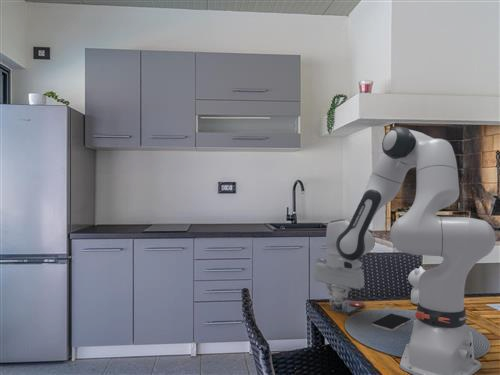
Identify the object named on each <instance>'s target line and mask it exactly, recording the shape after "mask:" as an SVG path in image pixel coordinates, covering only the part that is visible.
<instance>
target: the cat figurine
mask: <svg viewBox="0 0 500 375" xmlns="http://www.w3.org/2000/svg"><path fill="white" fill-rule="evenodd" d="M425 271H426V270H425V269H424V268H423V267H422V265H420V266H419V268H417V267H416V268H415V269H413V270H412V271H410V273H409V274H408V277H407V279H408V283H409V284H410V285H411V286H413V287H412V289H411V291H410V300H411V303H412V304H414V305H416V306H417V305H418V303H419V278H420V276H421V274H422V273H423V272H425Z"/></svg>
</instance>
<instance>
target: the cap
mask: <svg viewBox="0 0 500 375" xmlns="http://www.w3.org/2000/svg"><path fill="white" fill-rule="evenodd" d="M331 289H332V295H331V299H333V301H334V300H335V301H344V300H345V298H342V296H343V295H342V293H344V292H345V291H346V290H345V287H344V286H338V285H331Z"/></svg>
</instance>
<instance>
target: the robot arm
mask: <svg viewBox="0 0 500 375" xmlns="http://www.w3.org/2000/svg"><path fill="white" fill-rule="evenodd" d="M381 145H382V146H381V147H382V148H381V149H382V152H381V155H380V156H379V158H378V159H377V162H376V163H375V165H374V167H373V169H372V171H371V174H370V176H369V179H368V182H367V185H366V186H365V190H364V192H363V194H362V196H361V200H360V202H359V203H358V205H357V207H356V210H355V211H354V214H353V215H352V218H351V220H350V221H349V220H348V219H345V218H343V219H342V218H341V219H337V220H331V221H330V222H328V224H327V226H326V234H325V243H326V253H325V254H326V257H325V258H321V257H320V258H319V257H318V258H316V259H315V260H314V270H313V280H314V282H317V283H322V284H325V287H326V289H327V291H328V295H329V296H332V289H331V287H332V286H343V287H345V290H344V293H342V295H343V296H342V298H344V299H348V297H349V293H350V291H351V289H356V290H360V289H363V288H364V287H365V275H364V270H363V268H361V267H362V266H363V263H362V261H361V260H359V258H361V257H362V256H364V255H366V254H368V253H370V252H371V251H373V249H374V248H375V245H376V238H375V236H374V234H373V233H372V231H369V228H370V226H371V224H372V221H373V219H374V217H375V215H376V214H377V213H378V212H379V211H380V210H381V209H382V207H384V206H386V205H387V204H389V203H391V202H392V201H393V200H394V199H395V197H396V196H397V195H398V193H399V192H400V189H401V187H402V185H403V182H404V181H405V177H406V175H407V173H408V171H409V170H410V169H414V168H415V170H416V171H415V172H416V173H415V176H416V189H415V198H414V200H413V203H412V205H411V206H410V208H409V209H408V210H407V211H406V212H405V214H403V215H402V216H400V217H398V218H397V219H396V220H395V221H394V222H393V224H392V226H391V228H390V233H389V236H390V241H391V243H392V245H393V247H394V248H395V249H396V251H398V252H401V253H404V254H409V255H414V256H426V257H427V256H430V257H440V258H442V261H441V263H439V265H436V266H435V267H434V266H433V267H431V268H428V269H427V270H425V272H423V273H422V274H421V276H420V278H419V303H418V305H416V306H417V307H416V311H415V314H414V315H415V319H414V320H413V327H412V330H411V336H410V337H409V343H406V344H405V347H404V350H403V354H402V356H401V360H400V363H399V368H400V369H401V370H403V371H405V372H406V373H409V374H410V375H473V374H476V373H477V372H478V371H479V370H481V369H482V363H481V361H479V360H477V359H475V351H474V336H473V332H472V331H471V330H470V329H469V328H468V327H467V325H466V324H467V311H466V308H465V288H466V280H467V277H468V275H469V273H470V271H471V270H472V268H473V267H474V266H475V265H476V264H477V263H478V262H479V261H480V260H482V259H483V258H485V257H487V256H489V254H491V252H492V251H493V250H494V248H495V246H496V241H497V240H496V237H497V236H496V233H495V231H494V228H493V227H492V225H490V223H488V222H487V221H486V220H482V219H478V218H473V217H465V216H464V217H463V216H438V215H437V213H438V212H439V211H441V210H443V209H445V208H448V207H450V206H451V205H454V203H455V202H456V201H458V199H459V197H460V185H459V171H458V164H457V163H458V162H457V158H456V154H455V151H454V148H453V146H452V144H451V143H450V142H449V141H448V140H446V139H443V138H434V137H432V136H429V135H427V134H425V133H423V132H420V131H417V130H413V129H409V128H407V127H403V126H395V127H392V128H391V129H389V130H388V131H387V132H386V134H384V136H383V139H382V143H381Z"/></svg>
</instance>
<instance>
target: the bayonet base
mask: <svg viewBox="0 0 500 375" xmlns="http://www.w3.org/2000/svg"><path fill="white" fill-rule="evenodd" d="M329 306H330V307H329V311H330V312H334V313H338V314H339V313H340V314H342V315H347V316H350V315H351V314H354V313H356V311H359V310H360V309H362V308H363V307H366V303H365V302H364V301H361V300H350V299H344V300H343V301H335V300H333V299H332V298H329Z"/></svg>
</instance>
